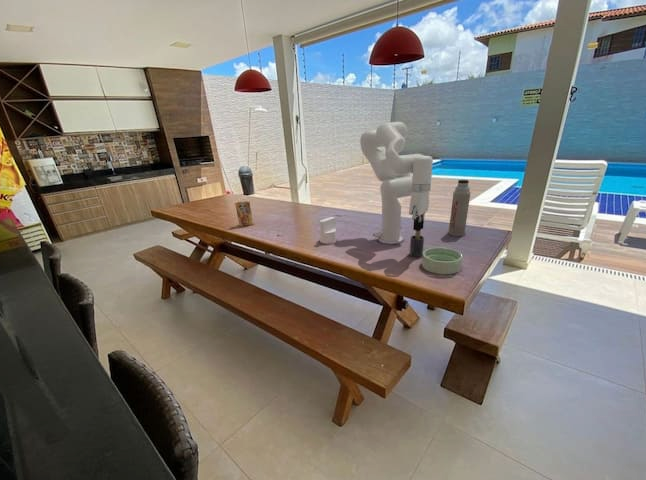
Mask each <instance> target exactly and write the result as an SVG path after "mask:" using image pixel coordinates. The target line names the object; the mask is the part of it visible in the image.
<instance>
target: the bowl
mask: <svg viewBox="0 0 646 480" xmlns="http://www.w3.org/2000/svg"><path fill="white" fill-rule="evenodd" d="M463 257H464V256H463V254H462V253H461V252H460V251H459V250H456V249H453V248H449V247H437V246H436V247H429V248H426V249H425V250H423V256H422V259H421V266H422V268H423V269H424V270H425V271H427V272H429V273H432V274H436V275H453V274H454V275H455V274H456V273H459V272H460V271H461V270H462V264H463Z"/></svg>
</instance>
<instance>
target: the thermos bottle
mask: <svg viewBox="0 0 646 480" xmlns="http://www.w3.org/2000/svg"><path fill="white" fill-rule="evenodd" d="M457 182H458V183H457V186H455V188H454V190H453V192H452V193H453V195H452V202H451V209H450V216H449V217H450V218H449V226H448V235H450V236H453V237H463V236H465V234H466V226H467V219H468V212H469V205H470V198H471V190H470V189H471V188H470V186H469V182H470V181H469V180H467V179H459V180H458V181H457Z"/></svg>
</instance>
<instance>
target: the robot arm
mask: <svg viewBox="0 0 646 480" xmlns="http://www.w3.org/2000/svg"><path fill="white" fill-rule="evenodd" d="M407 135H408V128H407V125H406V124H405V122H403V121H390V122H389V121H388V122H383V123H380V124H379V125H378V126H377V128H376V129H369V130H366V131H364V132H363V133H362V134H361V135H360V140H359V143H360V148H361V151H362V154H363V156H364V157H365V158H366V159H367V161H368V162H369V164H370V166H371V168H372V170H373V172H374V174H375V176H376V178H377V180H378V181H380V182H381V184H380V186H379V189H380V191H379V192H380V197H381V230H380V231H378V232H375V231H374V232H372V237H374V238H378V239H377V240H378V242H379V243H382V244H385V245H386V244H387V245H396V244H399V243H402V242H403V241H404V238H403V236H401V222H402V205H401V203H400V201H399V200H398V199H399V198H406V197H410V201H409V208H408V209H409V211H408V214H409V216H411V219H412V221H413V226H412V227H413V228H412V230H413V231H416V230H417V231H420V230H423V229H424V222H425V215H426V213H427V212H428V211H429V204H430V192H431V190H432V189H431V187H432V174H433V166H434V165H433V163H434V159H433V157H432V156H431V155H424V154H421V153H413V154H402V155H400V153H401V152H402V151H403V150H404V148H405V147H406V137H407ZM383 147H385V149H386V153H385V152H383V150H381V149H379V148H383ZM418 217H419V218H418ZM421 217H422V218H421ZM420 221H421V222H420ZM420 232H421V231H420Z"/></svg>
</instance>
